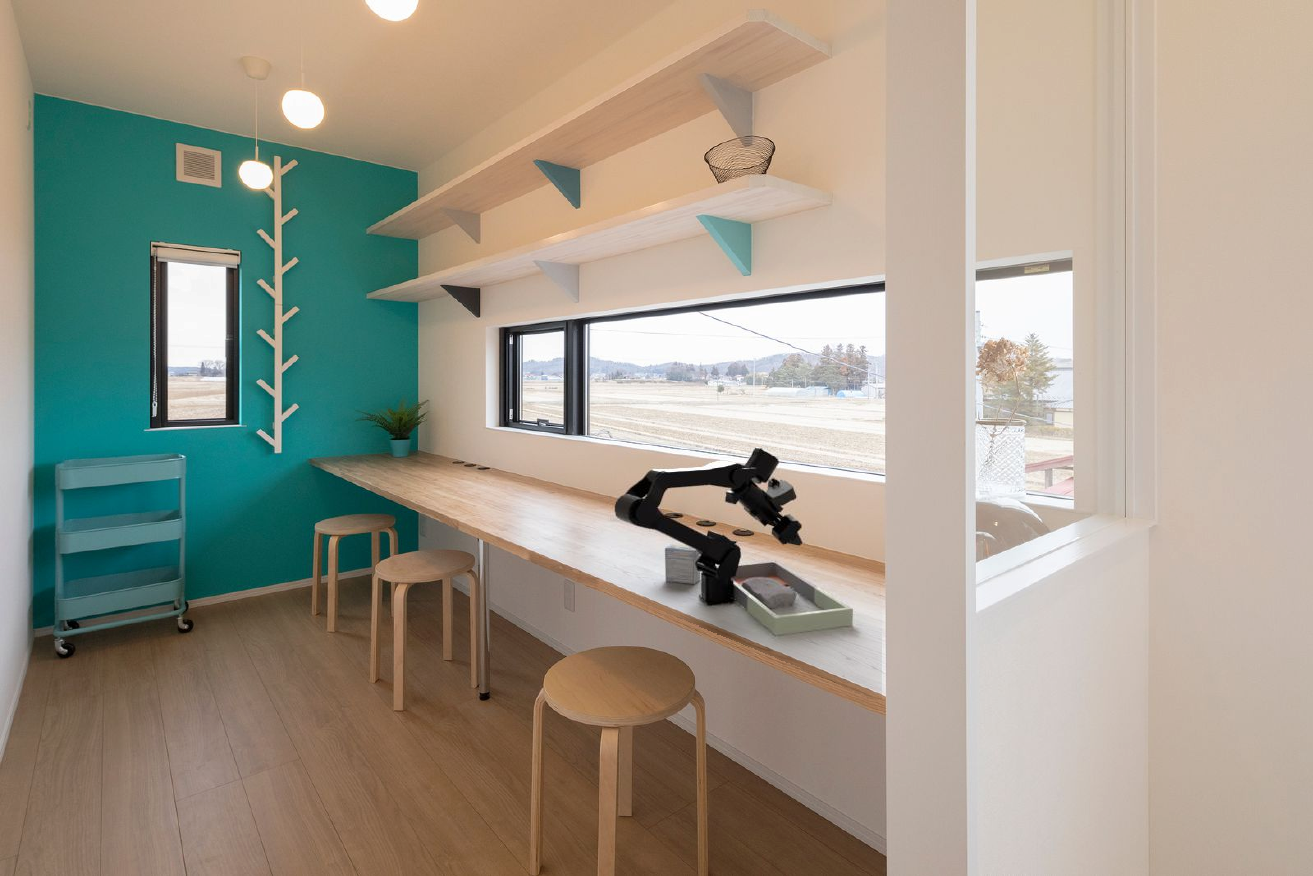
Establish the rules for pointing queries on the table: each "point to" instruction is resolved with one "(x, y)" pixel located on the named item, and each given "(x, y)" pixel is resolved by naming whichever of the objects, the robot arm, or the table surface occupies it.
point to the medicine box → (681, 564)
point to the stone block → (770, 592)
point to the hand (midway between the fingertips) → (790, 535)
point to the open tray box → (800, 622)
